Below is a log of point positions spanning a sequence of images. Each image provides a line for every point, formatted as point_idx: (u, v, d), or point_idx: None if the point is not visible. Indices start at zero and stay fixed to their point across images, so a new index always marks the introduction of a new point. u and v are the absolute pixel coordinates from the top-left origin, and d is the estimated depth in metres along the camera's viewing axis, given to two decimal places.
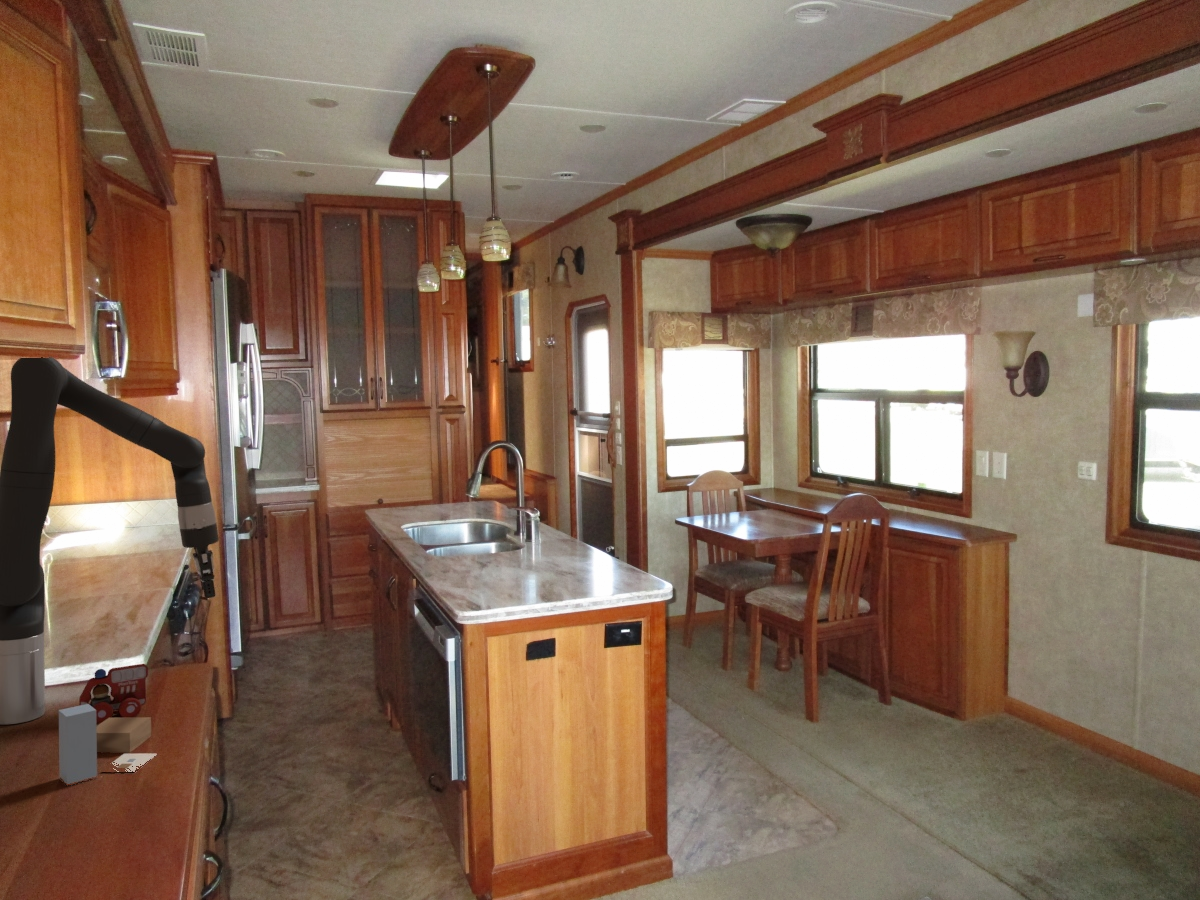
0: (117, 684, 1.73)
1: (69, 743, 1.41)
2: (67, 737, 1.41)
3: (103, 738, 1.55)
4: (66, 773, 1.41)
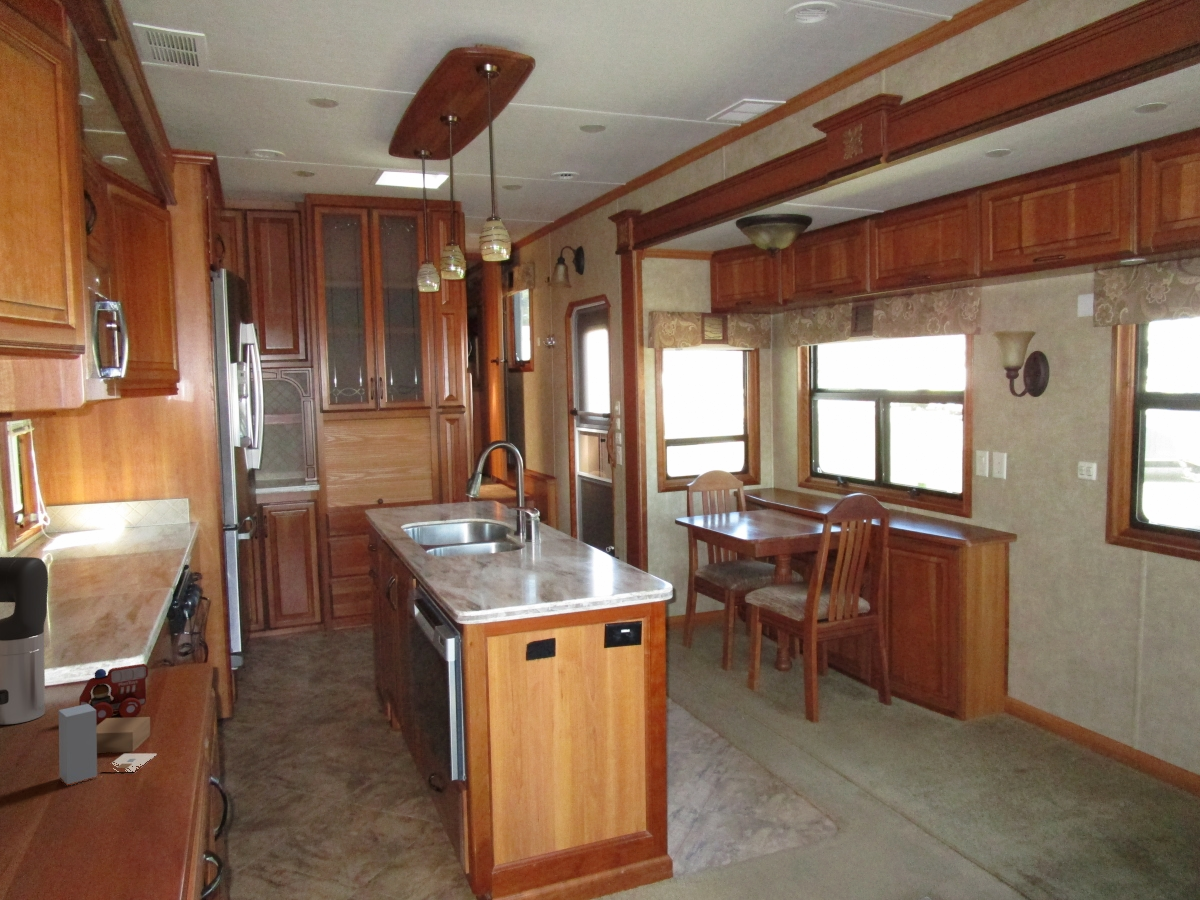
0: (117, 684, 1.73)
1: (69, 743, 1.41)
2: (67, 737, 1.41)
3: (105, 738, 1.55)
4: (66, 773, 1.41)
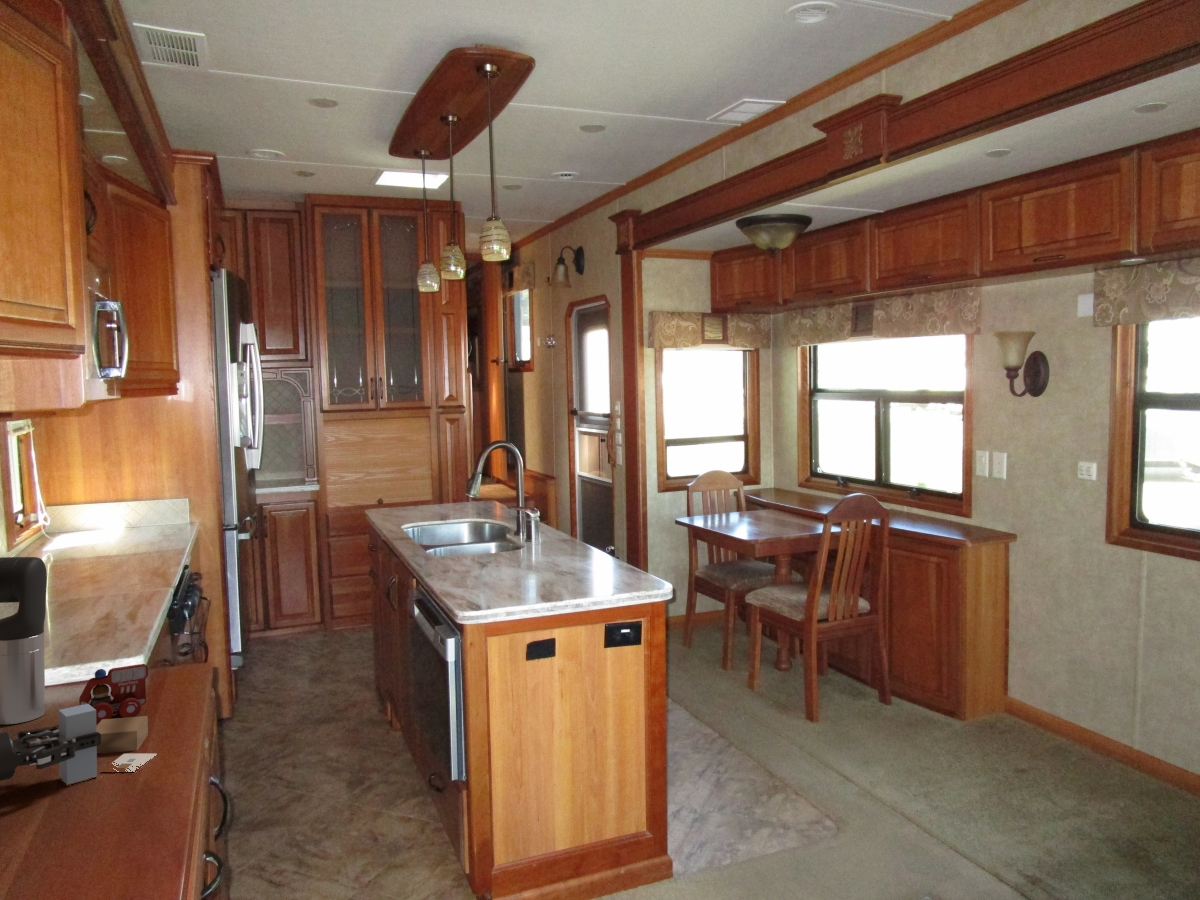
0: (117, 684, 1.73)
1: None
2: (67, 737, 1.41)
3: (108, 738, 1.55)
4: (66, 773, 1.41)
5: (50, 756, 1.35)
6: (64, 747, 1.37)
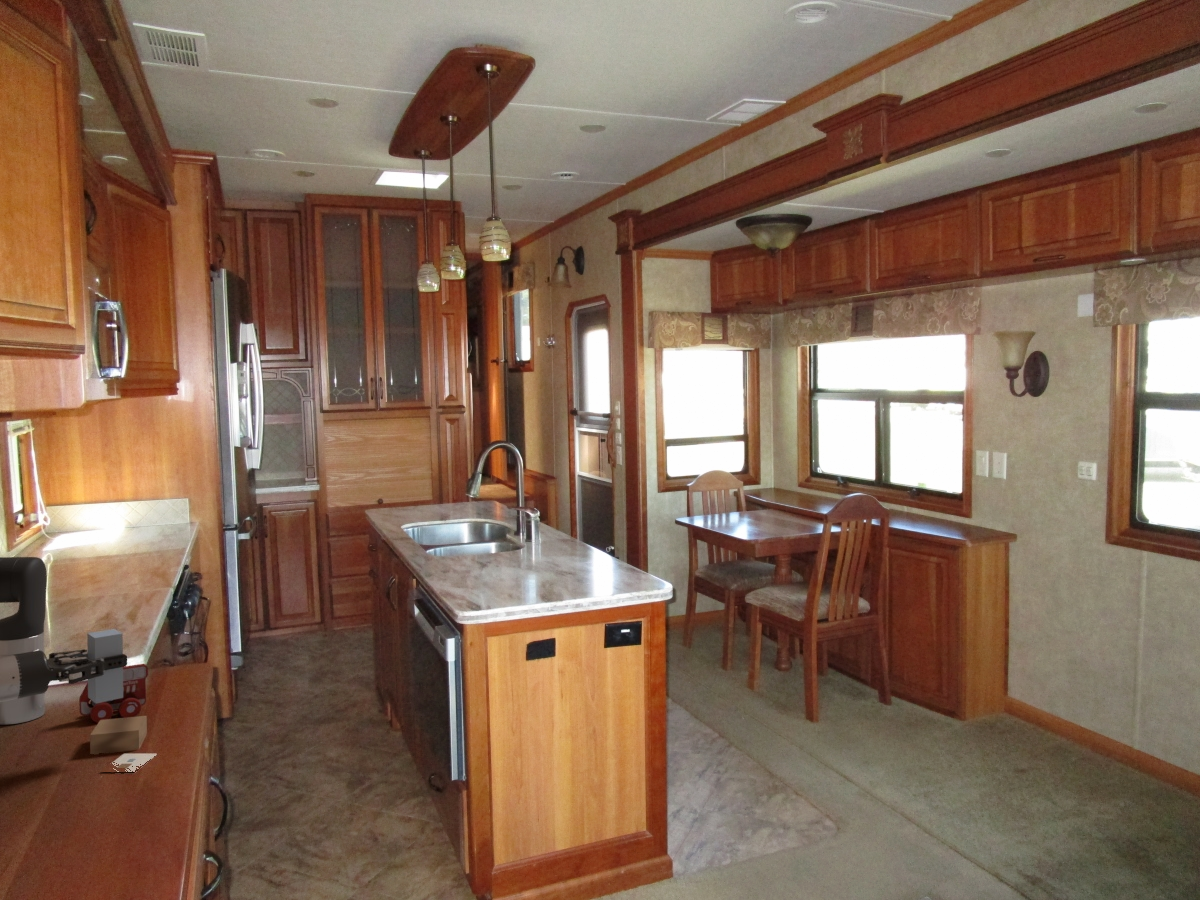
0: None
1: None
2: (96, 657, 1.50)
3: (109, 738, 1.55)
4: (95, 691, 1.51)
5: (81, 672, 1.45)
6: (94, 665, 1.47)
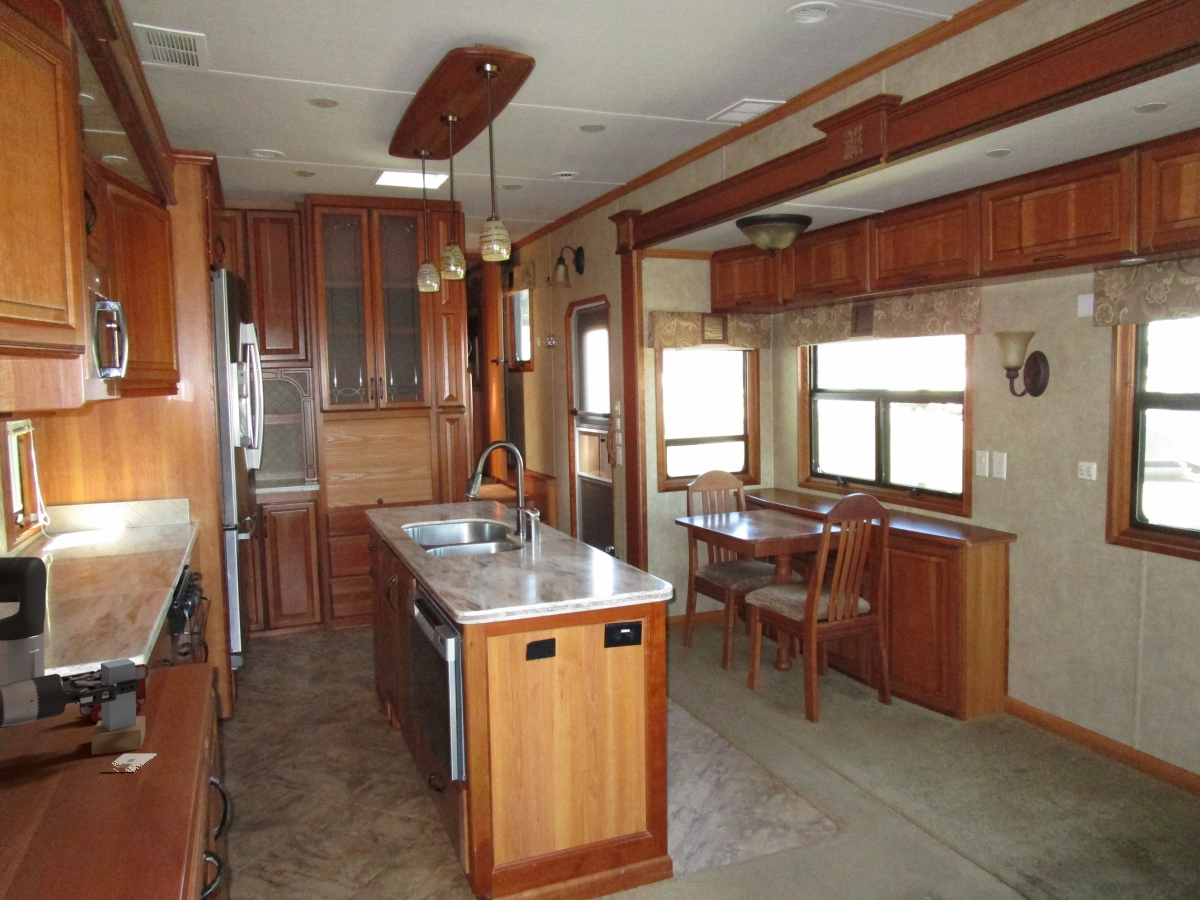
0: None
1: None
2: None
3: (111, 738, 1.55)
4: (109, 719, 1.56)
5: (91, 697, 1.49)
6: (105, 690, 1.51)
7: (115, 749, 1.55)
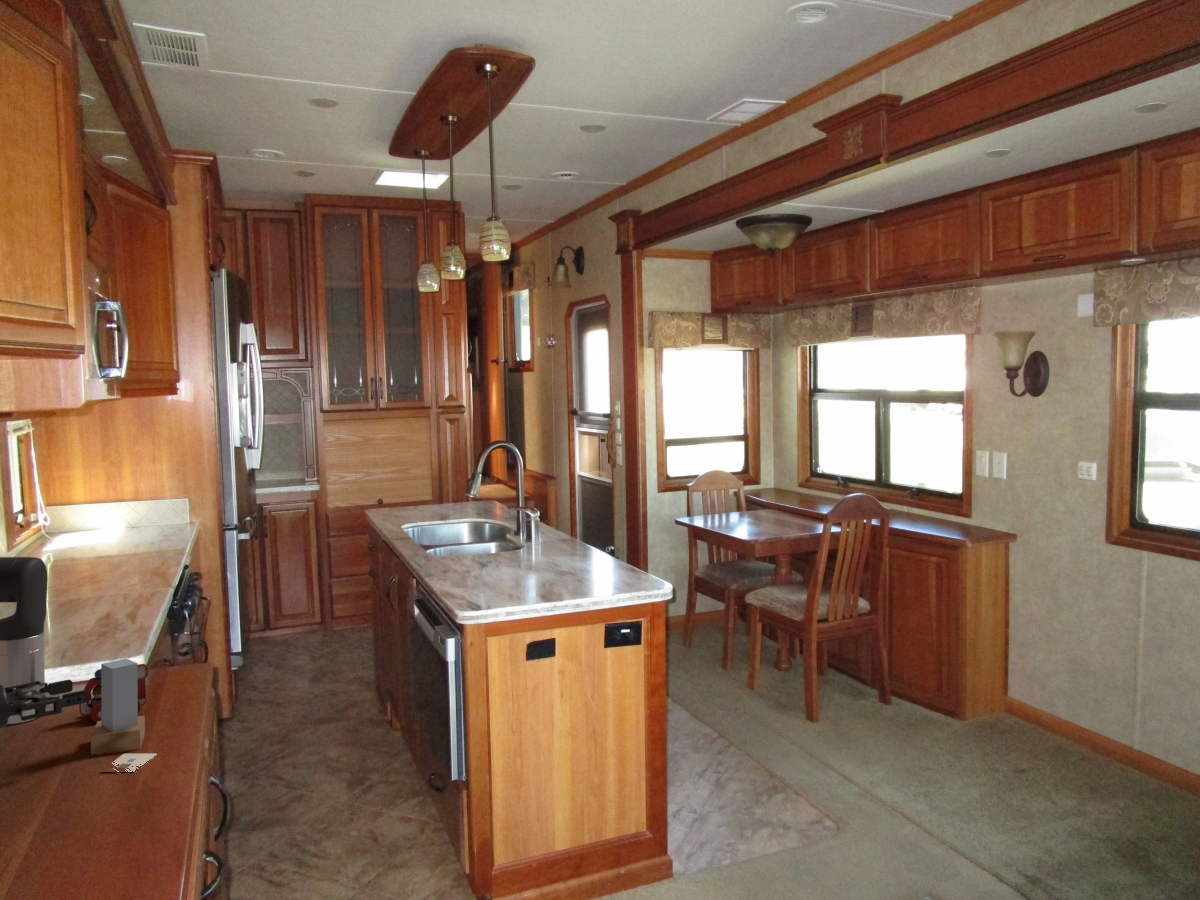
0: None
1: (114, 692, 1.56)
2: (113, 687, 1.55)
3: (110, 738, 1.55)
4: (111, 720, 1.56)
5: (33, 709, 1.42)
6: (49, 702, 1.44)
7: (114, 749, 1.55)
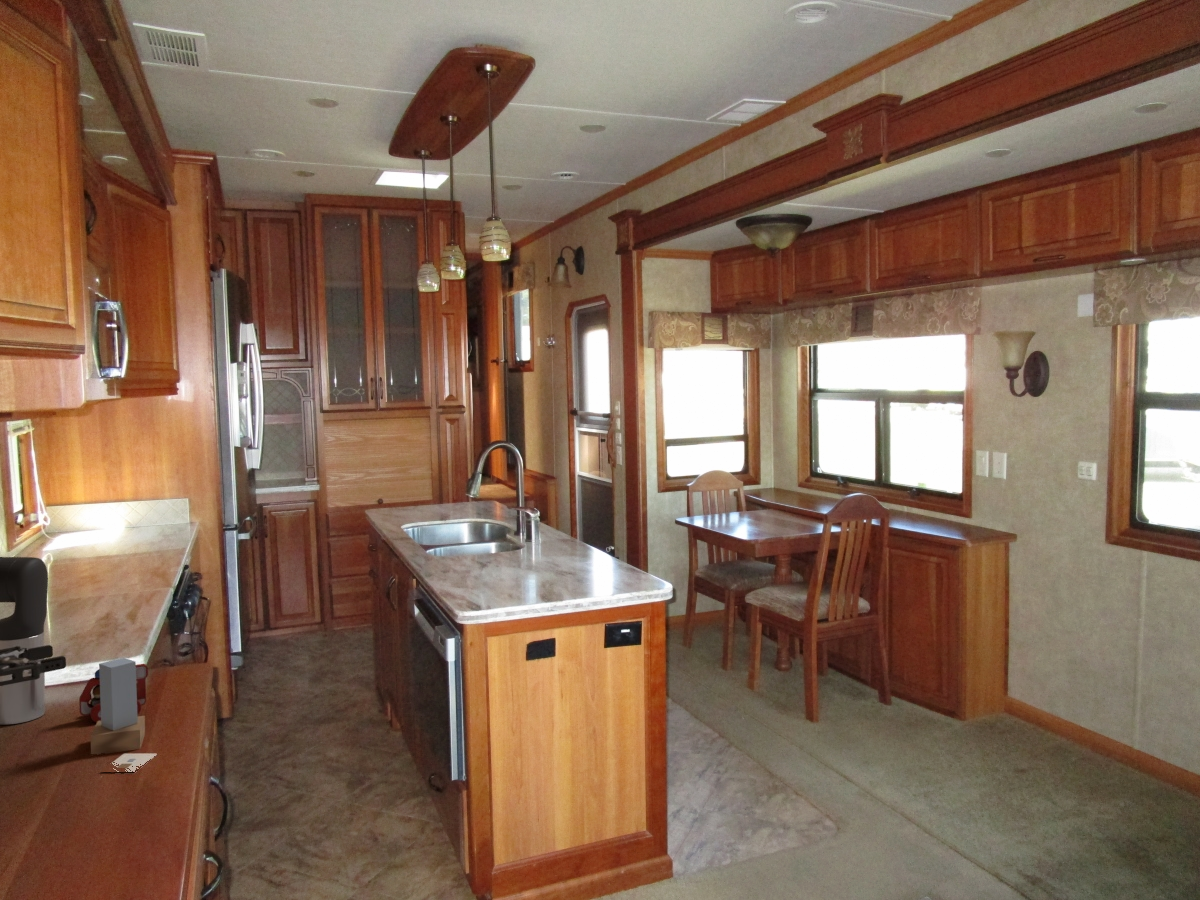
0: None
1: (114, 691, 1.56)
2: (112, 686, 1.56)
3: (110, 738, 1.55)
4: (111, 719, 1.56)
5: (10, 675, 1.41)
6: (26, 668, 1.42)
7: (114, 749, 1.55)
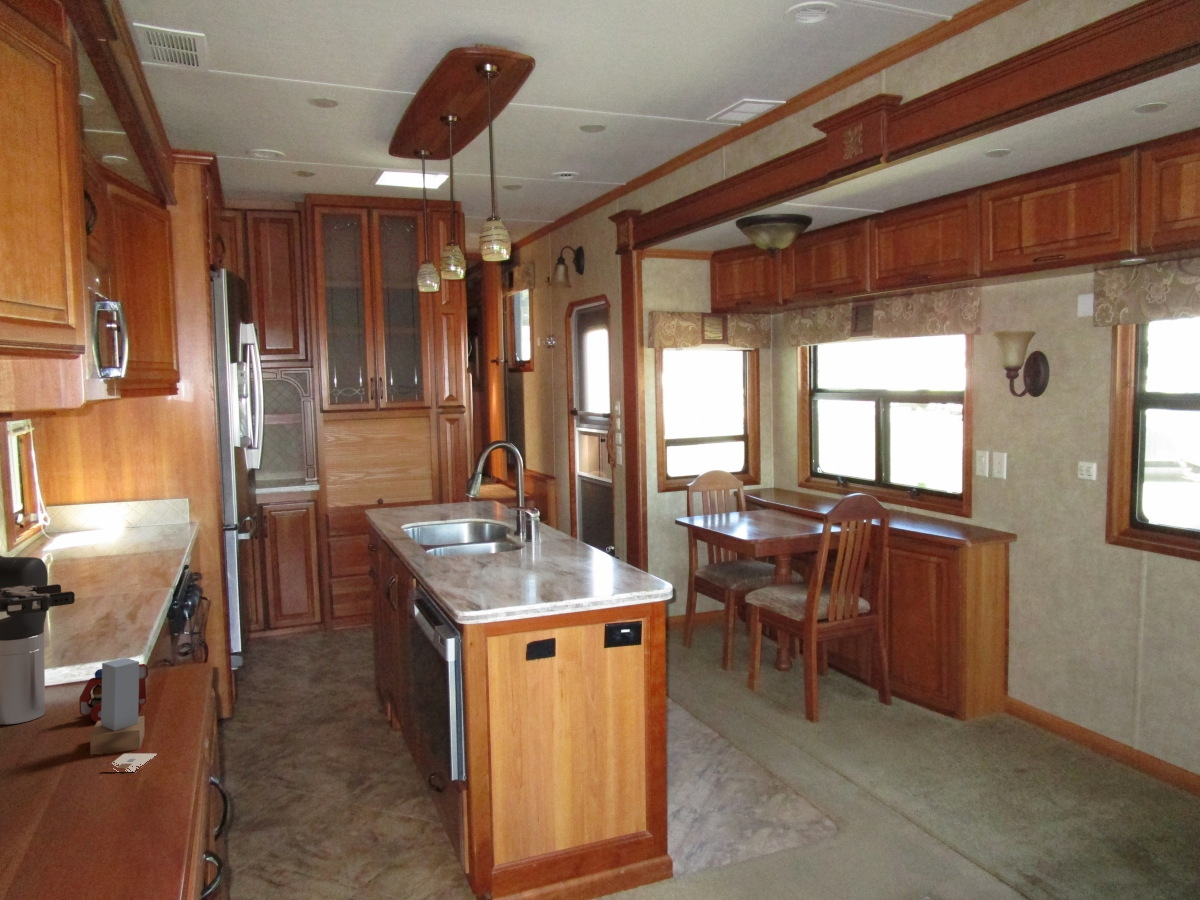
0: None
1: (117, 691, 1.56)
2: (115, 686, 1.56)
3: (110, 738, 1.55)
4: (113, 719, 1.56)
5: (20, 605, 1.42)
6: (35, 599, 1.43)
7: (114, 749, 1.55)
